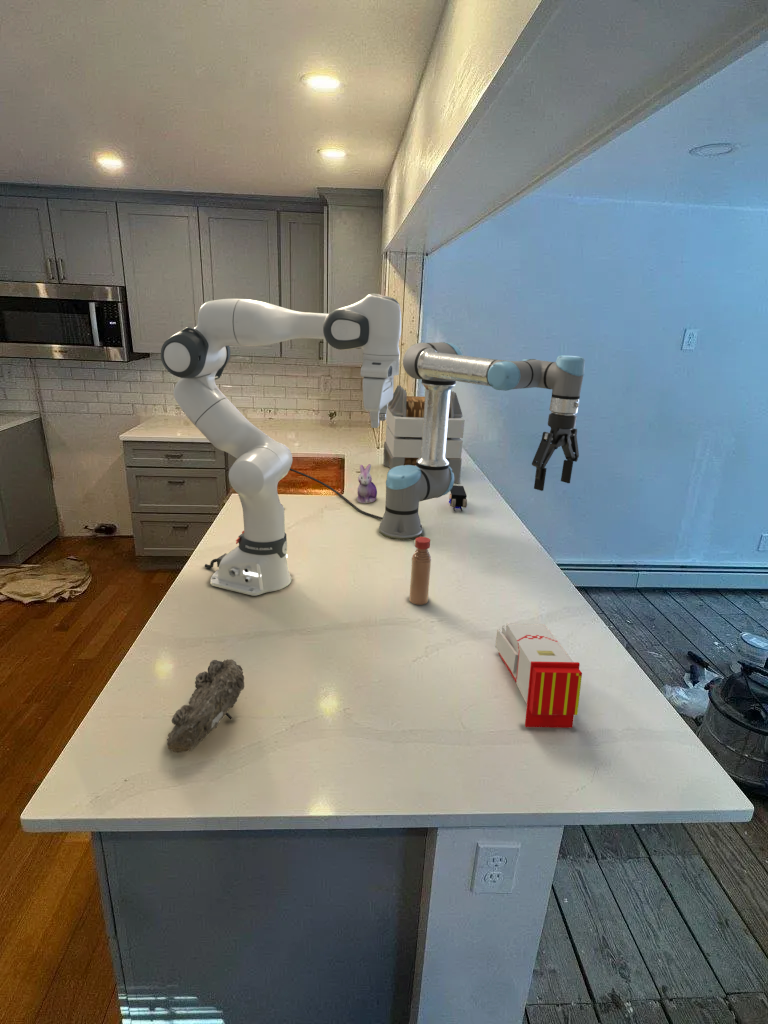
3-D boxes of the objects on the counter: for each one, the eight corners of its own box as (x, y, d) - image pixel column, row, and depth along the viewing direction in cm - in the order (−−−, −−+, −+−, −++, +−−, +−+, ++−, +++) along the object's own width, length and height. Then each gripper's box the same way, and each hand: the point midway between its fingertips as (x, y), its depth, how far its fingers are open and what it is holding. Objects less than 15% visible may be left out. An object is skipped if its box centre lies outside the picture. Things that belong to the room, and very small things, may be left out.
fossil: (192, 660, 117) (244, 628, 112) (224, 691, 120) (276, 661, 115) (142, 746, 98) (202, 712, 93) (182, 779, 101) (242, 748, 96)
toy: (542, 608, 134) (591, 669, 104) (537, 660, 136) (583, 734, 107) (491, 607, 133) (526, 668, 104) (487, 660, 136) (520, 733, 107)
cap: (425, 542, 152) (425, 535, 151) (432, 548, 149) (433, 541, 148) (412, 544, 150) (412, 537, 150) (419, 550, 147) (420, 543, 146)
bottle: (422, 594, 158) (426, 536, 152) (431, 602, 154) (436, 543, 148) (405, 597, 156) (409, 538, 150) (414, 606, 152) (419, 545, 146)
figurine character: (467, 516, 223) (461, 500, 237) (469, 499, 220) (463, 483, 233) (450, 516, 223) (446, 499, 236) (452, 498, 220) (447, 483, 233)
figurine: (361, 505, 226) (362, 469, 221) (351, 497, 235) (351, 462, 230) (382, 502, 231) (384, 467, 226) (371, 495, 239) (372, 460, 234)
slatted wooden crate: (382, 463, 289) (386, 382, 275) (445, 464, 293) (451, 384, 279) (390, 482, 257) (394, 392, 243) (460, 483, 261) (468, 394, 247)
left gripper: (376, 362, 146) (374, 415, 151) (358, 369, 127) (357, 430, 132) (400, 363, 145) (397, 417, 150) (386, 371, 126) (383, 432, 131)
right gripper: (548, 419, 148) (537, 496, 155) (598, 411, 163) (586, 482, 171) (525, 414, 153) (515, 489, 160) (575, 407, 169) (564, 476, 176)
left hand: (378, 423), depth 141 cm, fingers open, 8 cm apart
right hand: (552, 485), depth 166 cm, fingers open, 13 cm apart
